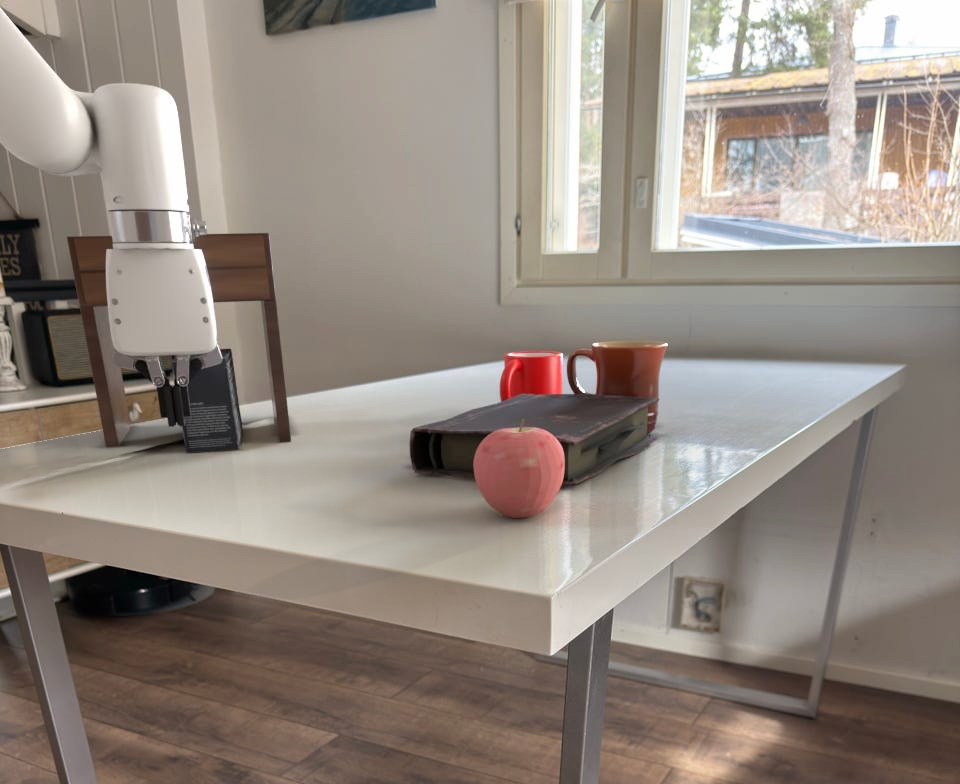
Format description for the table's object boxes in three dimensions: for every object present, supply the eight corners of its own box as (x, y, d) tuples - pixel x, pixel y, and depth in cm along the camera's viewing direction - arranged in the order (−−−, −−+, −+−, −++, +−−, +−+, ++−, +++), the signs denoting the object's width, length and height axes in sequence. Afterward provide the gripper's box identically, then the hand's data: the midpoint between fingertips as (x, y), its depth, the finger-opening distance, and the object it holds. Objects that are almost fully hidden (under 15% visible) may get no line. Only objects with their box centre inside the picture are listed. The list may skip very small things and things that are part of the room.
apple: (575, 507, 76) (576, 412, 73) (550, 530, 70) (550, 427, 67) (493, 501, 79) (492, 409, 76) (462, 523, 73) (459, 424, 69)
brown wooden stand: (291, 441, 108) (269, 232, 99) (107, 454, 103) (66, 236, 94) (285, 423, 120) (264, 236, 111) (120, 433, 116) (85, 239, 107)
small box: (191, 437, 112) (178, 350, 108) (244, 434, 113) (233, 347, 109) (183, 453, 102) (168, 358, 98) (241, 450, 104) (228, 355, 99)
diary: (408, 475, 89) (405, 424, 87) (516, 432, 110) (516, 390, 108) (581, 492, 81) (582, 436, 79) (663, 442, 101) (666, 397, 99)
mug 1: (479, 420, 118) (477, 358, 115) (522, 407, 128) (521, 350, 125) (531, 424, 115) (531, 361, 112) (571, 410, 124) (572, 351, 121)
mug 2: (671, 428, 109) (676, 341, 105) (650, 441, 102) (654, 348, 98) (579, 423, 115) (581, 339, 111) (553, 435, 107) (554, 346, 103)
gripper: (230, 235, 92) (249, 416, 99) (75, 234, 88) (106, 422, 96) (231, 232, 85) (250, 427, 92) (63, 232, 82) (97, 433, 89)
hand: (177, 424), depth 94 cm, fingers closed
